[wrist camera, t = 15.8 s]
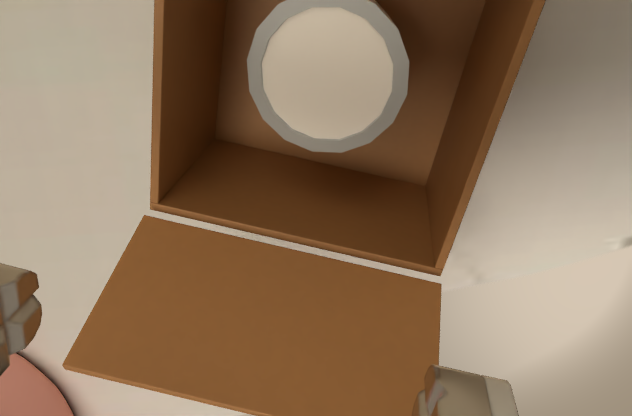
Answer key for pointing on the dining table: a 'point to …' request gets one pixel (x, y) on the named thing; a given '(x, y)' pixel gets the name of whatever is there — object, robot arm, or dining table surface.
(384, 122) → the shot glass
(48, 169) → the dining table surface
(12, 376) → the cake
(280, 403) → the flap
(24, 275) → the robot arm
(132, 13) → the dining table surface
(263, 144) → the carton
